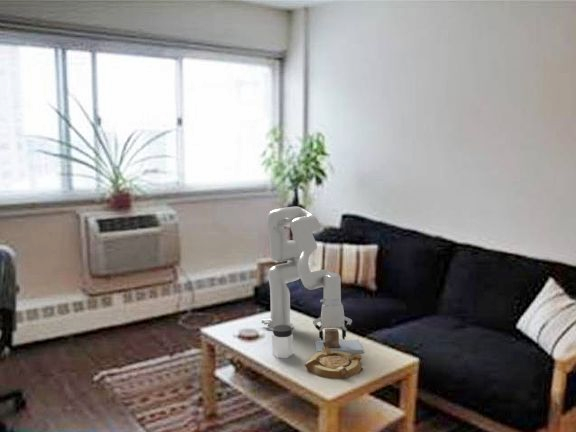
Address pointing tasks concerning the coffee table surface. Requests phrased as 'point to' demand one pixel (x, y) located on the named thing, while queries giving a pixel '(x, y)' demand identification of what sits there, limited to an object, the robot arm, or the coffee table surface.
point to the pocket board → (342, 346)
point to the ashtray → (334, 364)
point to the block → (331, 338)
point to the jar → (282, 341)
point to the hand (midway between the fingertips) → (332, 338)
